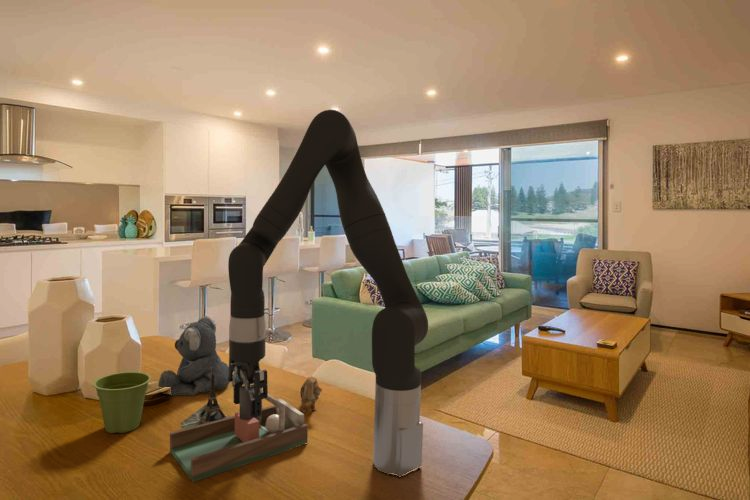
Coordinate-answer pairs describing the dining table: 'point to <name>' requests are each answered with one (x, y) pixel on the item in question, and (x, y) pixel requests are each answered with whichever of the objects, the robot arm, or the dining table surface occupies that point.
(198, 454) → the pitch
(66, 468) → the dining table surface
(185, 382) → the koala plush
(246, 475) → the dining table surface
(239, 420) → the striker
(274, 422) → the ball
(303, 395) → the lion figurine
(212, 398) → the eiffel tower figurine
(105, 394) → the plant pot
